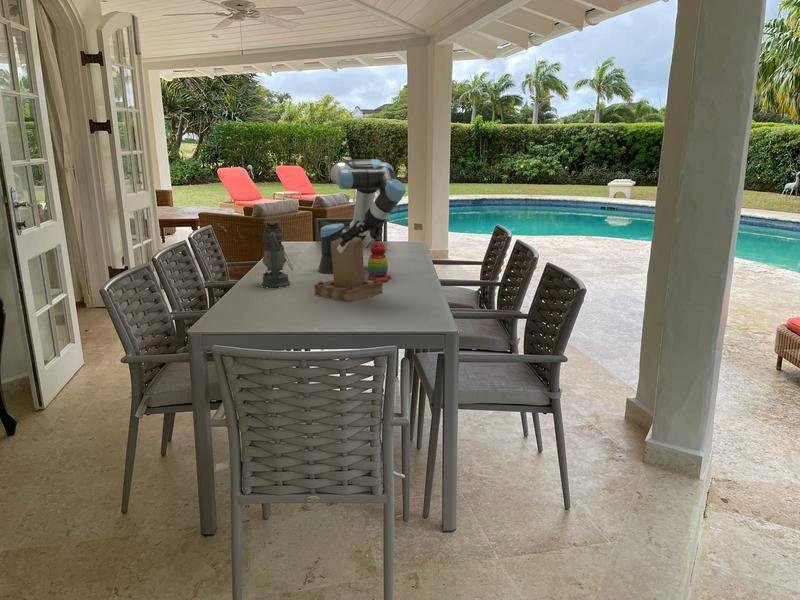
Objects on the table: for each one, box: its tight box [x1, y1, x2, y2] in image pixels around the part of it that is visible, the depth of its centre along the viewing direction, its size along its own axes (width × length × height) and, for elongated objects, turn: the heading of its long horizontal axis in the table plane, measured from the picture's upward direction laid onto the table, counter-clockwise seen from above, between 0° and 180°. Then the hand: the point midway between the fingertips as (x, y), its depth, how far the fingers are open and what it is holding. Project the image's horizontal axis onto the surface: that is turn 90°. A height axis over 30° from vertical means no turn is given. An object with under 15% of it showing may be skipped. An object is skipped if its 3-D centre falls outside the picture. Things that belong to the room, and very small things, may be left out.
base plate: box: [314, 279, 383, 303], centre depth 253 cm, size 20×20×6 cm
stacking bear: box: [367, 241, 392, 283], centre depth 279 cm, size 11×10×18 cm
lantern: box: [261, 218, 294, 289], centre depth 268 cm, size 19×14×30 cm
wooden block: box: [331, 237, 366, 288], centre depth 250 cm, size 10×10×20 cm
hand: (351, 248), depth 245 cm, fingers open, 13 cm apart
